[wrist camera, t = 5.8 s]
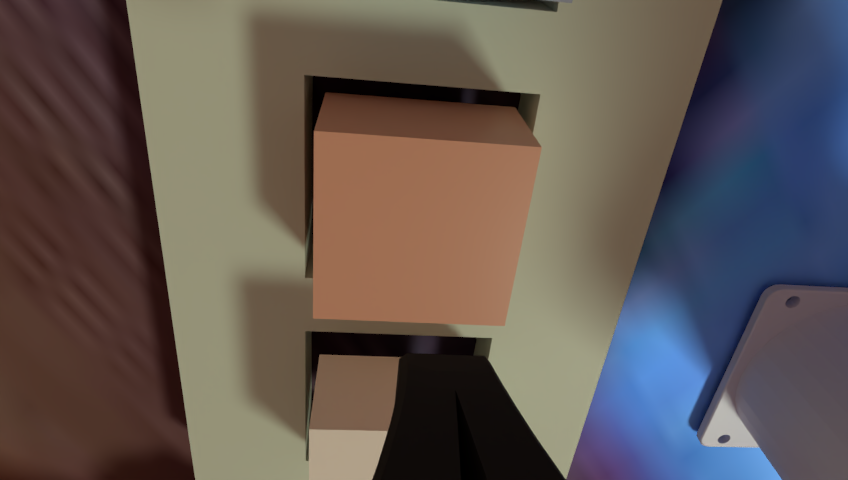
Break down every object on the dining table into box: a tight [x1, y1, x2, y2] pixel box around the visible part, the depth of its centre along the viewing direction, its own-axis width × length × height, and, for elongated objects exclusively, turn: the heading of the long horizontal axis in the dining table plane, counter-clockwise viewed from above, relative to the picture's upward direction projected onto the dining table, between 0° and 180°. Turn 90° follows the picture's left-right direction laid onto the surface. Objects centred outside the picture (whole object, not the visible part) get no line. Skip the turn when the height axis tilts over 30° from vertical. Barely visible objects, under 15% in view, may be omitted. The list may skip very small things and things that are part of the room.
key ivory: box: [309, 354, 401, 480], centre depth 18 cm, size 5×5×3 cm
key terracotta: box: [313, 92, 542, 326], centre depth 15 cm, size 5×5×3 cm
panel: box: [126, 0, 722, 480], centre depth 17 cm, size 14×25×2 cm, turn 174°
